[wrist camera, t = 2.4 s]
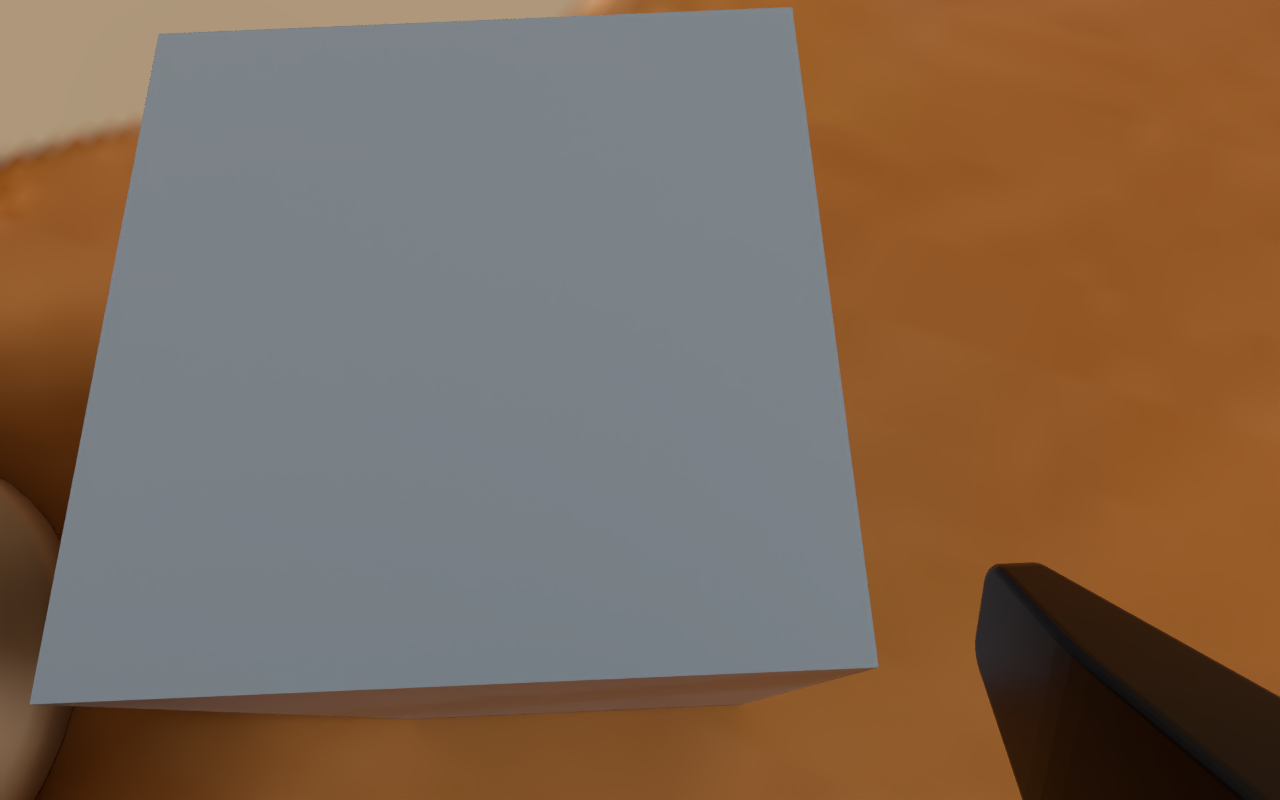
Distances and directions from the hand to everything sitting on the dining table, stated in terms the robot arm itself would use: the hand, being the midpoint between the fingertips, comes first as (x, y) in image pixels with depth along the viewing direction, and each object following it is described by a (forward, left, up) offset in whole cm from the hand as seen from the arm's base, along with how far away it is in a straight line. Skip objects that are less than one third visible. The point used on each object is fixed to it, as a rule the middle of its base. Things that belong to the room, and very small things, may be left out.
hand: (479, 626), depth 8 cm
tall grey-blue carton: (+2, +1, -10) cm, 10 cm away
